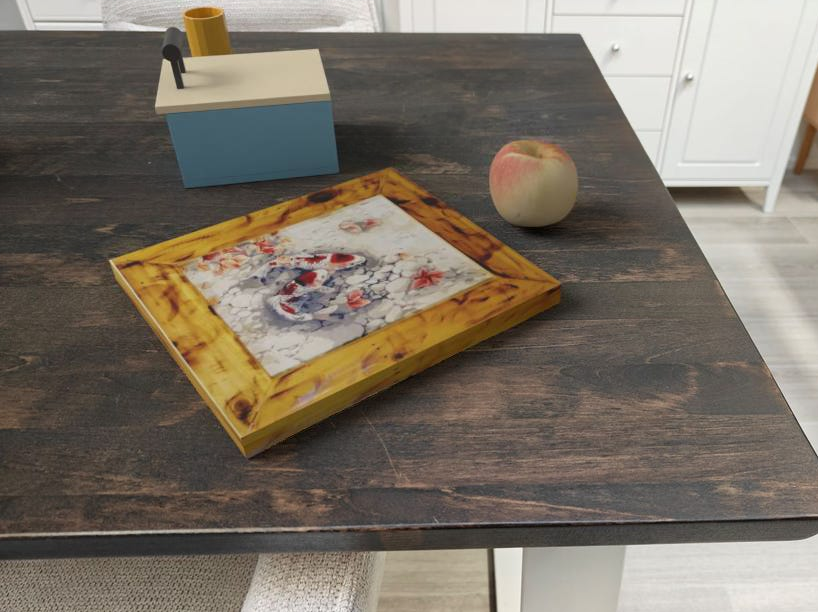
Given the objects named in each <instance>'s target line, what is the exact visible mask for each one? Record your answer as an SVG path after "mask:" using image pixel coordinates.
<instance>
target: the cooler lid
mask: <svg viewBox="0 0 818 612" xmlns="http://www.w3.org/2000/svg"><path fill="white" fill-rule="evenodd" d="M183 43H184V33H183V32H182V31H181V29H180V28H178V27H175V26H170V27H167V28H166V30H165V32H164V38H163V43H162V48H161V55H162V56H163V58H162V63H161V70H160V75H159V81H158V87H157V91H156V98H155V104H154V109H155V113H156V115H166V114H168V113H181V112H193V111H206V110H218V109H231V108H243V107H256V106H269V105H281V104H294V103H306V102H319V101H331V102H332V99H331V92H330V88H329V84H328V81H327V76H326V73H325V67H324V65H323V64H324V63H323V61H322V57H321V53H320V50H319V48H312V49H295V50H281V51H279V50H278V51H267V52H266V51H264V52H252V53H251V52H250V53H249V52H247V53H236V54H235V53H232V54H233V55H218V56H203V57H192V56H191V57H190V56H189V57H187V56H186V57H183V53H182V52H183V51H182V50H183Z"/></svg>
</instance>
